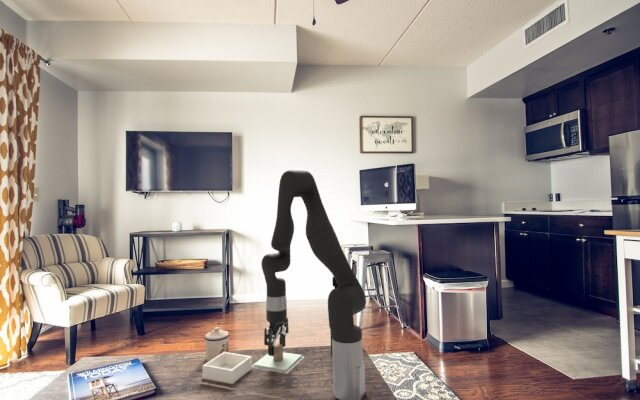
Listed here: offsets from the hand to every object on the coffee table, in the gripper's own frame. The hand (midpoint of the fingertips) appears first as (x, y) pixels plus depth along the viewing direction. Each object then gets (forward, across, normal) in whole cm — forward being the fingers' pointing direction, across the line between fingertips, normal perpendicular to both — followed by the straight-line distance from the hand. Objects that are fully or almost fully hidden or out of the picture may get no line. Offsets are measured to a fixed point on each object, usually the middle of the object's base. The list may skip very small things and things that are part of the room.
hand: (277, 350), depth 138 cm
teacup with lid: (+5, -2, +25) cm, 25 cm away
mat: (+4, 0, 0) cm, 5 cm away
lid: (+4, 0, 0) cm, 4 cm away
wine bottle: (+4, +14, -20) cm, 24 cm away
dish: (+5, -14, +12) cm, 19 cm away
